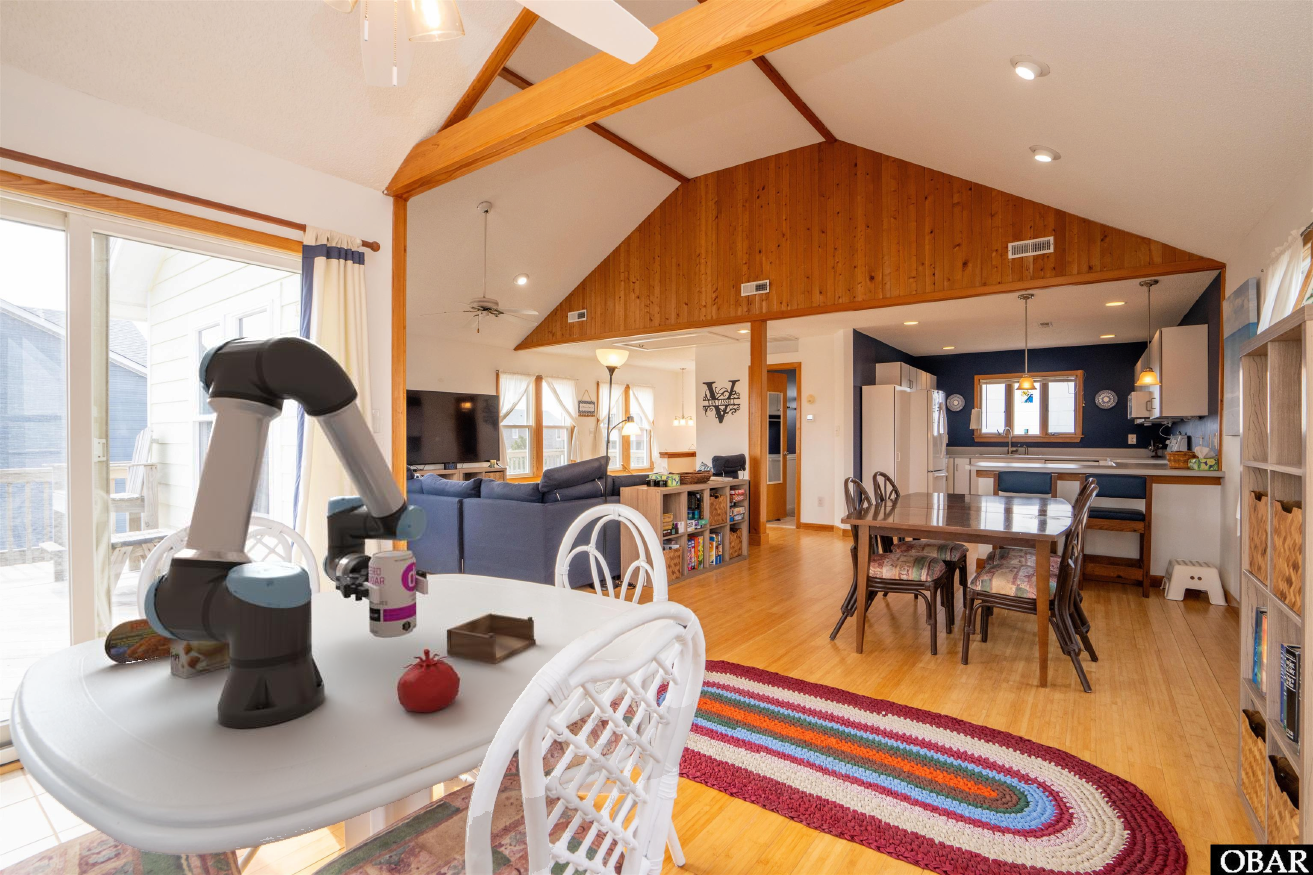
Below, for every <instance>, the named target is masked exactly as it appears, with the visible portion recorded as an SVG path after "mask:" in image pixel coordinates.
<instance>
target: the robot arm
mask: <svg viewBox="0 0 1313 875" xmlns="http://www.w3.org/2000/svg"><path fill="white" fill-rule="evenodd" d="M198 379H199V382H201V384H202V385H201V388H202V389H203V391H204V392H205V394H207V395H208V397H207V400H206V402H207V405H208V406H209V407H210V409H211V410H212V411H213V412H214V417H213V421H212V427H211V431H210V435H209V439H208V444H207V448H206V453H205V457H204V462H203V467H202V471H201V476H200V478H199V479H200V480H199V485H198V489H197V492H196V493H197V494H196V499H195V502H194V503H195V504H194V507H193V512H192V517H191V519H190V525H189V529H188V534H187V539H186V542H185V547H184V548H183V549H182V550H180V551H179V552H177V553H176V554H174V555H172V556H171V559H170V564H169V568H168V570H166V571H164V572H163V573H161V574H159V575H158V576H157V579H156V580H153V581H152V582H151V584H150V585H149V587H148V588H147V590H146V592H145V593H146V594H145V596H144V597H145V598H144V601H143V609H144V616H145V618H146V619H147V621H148V623H149V624H150V625H151V626H152V627H153V629H154V630H155V631H156V632H157V633H159V634H161V635H163V636H165V637H169V638H175V639H178V640H181V641H208V642H219V643H229V655H230V666H229V670H228V674H227V676H226V680H225V683H224V685H223V688H222V691H221V694H220V697H219V700H218V703H217V721H218V723H219V724H221V725H222V726H224V727H228V728H236V729H250V728H259V727H266V726H270V725H271V726H272V725H275V724H280V723H284V722H287V721H290V720H293V719H296V718H299V717H301V716H303V715H305V714H307V713H310V712H311V711H314V710H315V709H316V708H318V707H319V706H320V705H321V704H322V703H323V702H324V701H325V696H326V695H325V682H324V680H323V678H322V675H321V673H320V670H319V667H318V665H317V663H316V661H315V658H314V655H313V643H312V642H313V641H312V639H313V636H312V633H313V631H312V615H313V614H312V591H313V590H312V588H311V582H310V575H309V572H308V571H307V570H306V569H305V568H304V567H302V566H301V565H298V564H295V563H291V562H284V561H272V562H267V561H257V562H255V561H254V562H253V560H251V558H250V557H249V555H248V554H247V553H246V552H245V550H246V545H247V539H248V535H249V529H250V526H251V525H250V524H251V520H252V515H253V509H254V504H255V500H256V495H257V489H258V485H259V479H260V475H261V470H262V469H261V468H262V464H263V459H264V456H265V448H266V446H267V445H266V444H267V439H268V434H269V430H270V429H269V428H270V425H271V423H272V421H274V420H275V419H277V418H279V417H280V416H282V412H283V408H284V403H285V400H293V401H294V402H297V403H298V404H299V405H301V407H302V410H304V413H305V414H306V415H307V416H308V417H310V418H314V419H315V420H316V421H317V423H318V424H319V427H320V429H321V430H322V432H323V433H324V435H325V437H326V439H327V441H328V443H329V444H330V446H331V448H332V450H333V451H334V454H336V457H337V459H338V460H339V462H340V463H341V465H342V467H343V469H344V470H345V472H346V475H347V476H348V478H349V480H350V481H351V483H352V485H353V486H354V489H355V490H356V492H357V493H358V495H340V496H334V497H331V498H330V499H328V502H327V515H326V520H327V521H326V522H327V523H326V524H327V528H326V529H327V554H325V557H324V558H323V561H322V570H323V572H324V574H325V576H327V577H328V578H329V580H331V581H333V582H334V583H335V590H337V591H340V593H341V595H342V597H343V598H344V599H350V598H351V597H352V596H353V595H354V598H355V599H354V600H355V602H361V601H363V598H364V599H366V600H368V602H369V601H371V602H373V603H380V600H379V587H377V586H375V585H372V584H370V583H369V562H370V560H371V558H372V556H371V555H368V554H366V540H372V541H373V540H376V541H377V540H379V541H396V542H403V541H404V542H405V541H416V540H418V539H419V538H421V536H422V535H423V534H424V532H425V530H426V527H427V515H426V512H425V510H424V509H423V508H422V507H420V506H418V505H414V504H411V505H410V504H408V503H407V500H406V498H405V496H404V495H403V493H402V490H401V488H400V486H399V485H398V482H397V481H396V478H395V476H394V475H393V473H392V471H391V468H390V467H389V465H388V462H387V460H386V459H385V457H384V455H383V452H382V451H381V449H380V447H379V445H378V443H377V441H376V439H375V437H374V435H373V434H372V431H371V430H370V427H369V425H368V423H367V421H366V419H365V417H364V415H363V413H362V412H361V410H360V408H359V405H358V403H357V402H356V401H357V399H358V398H359V393H358V390H357V389H356V387H355V385H354V383H353V381H352V379H351V378H350V376H349V374H348V373H347V372H346V370H345V369H344V368H343V367H342V365H341V364H340V363H339V362H338V361H337V360H336V359H335V358H334V357H333V356H332V354H330V353H329V352H328V351H327V350H325V349H324V348H323V347H321V346H320V345H319V344H317V343H315V342H314V341H312V340H310V339H308V338H304V337H301V336H297V335H289V334H288V335H287V334H286V335H279V336H263V337H262V336H261V337H234V338H231V339H226V340H221V341H219V342H217V343H214V344H213V345H212V346H210V347H209V348H208V349H207V350H206V351H205V352H204V354H203V355H202V357H201V360H200V361H199V365H198ZM427 574H428V573H427V571H421V570H417V569H416V593H419V594H422V595H424V596H425V595H429V580H428V578H427V576H428V575H427Z"/></svg>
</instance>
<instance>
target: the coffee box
mask: <svg viewBox="0 0 1313 875" xmlns="http://www.w3.org/2000/svg"><path fill="white" fill-rule="evenodd" d="M169 656H170V657H169V658H170V674H172V675H175V676H178V677H181V678H183V679H189V678H193V677H195V676H199V675H204V674H206V673H210V672H213V671H216V670H219V669H223V668H227V667H230V655H229V643H219V642H208V641H181V640H178V639H175V638H170V655H169Z"/></svg>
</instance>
